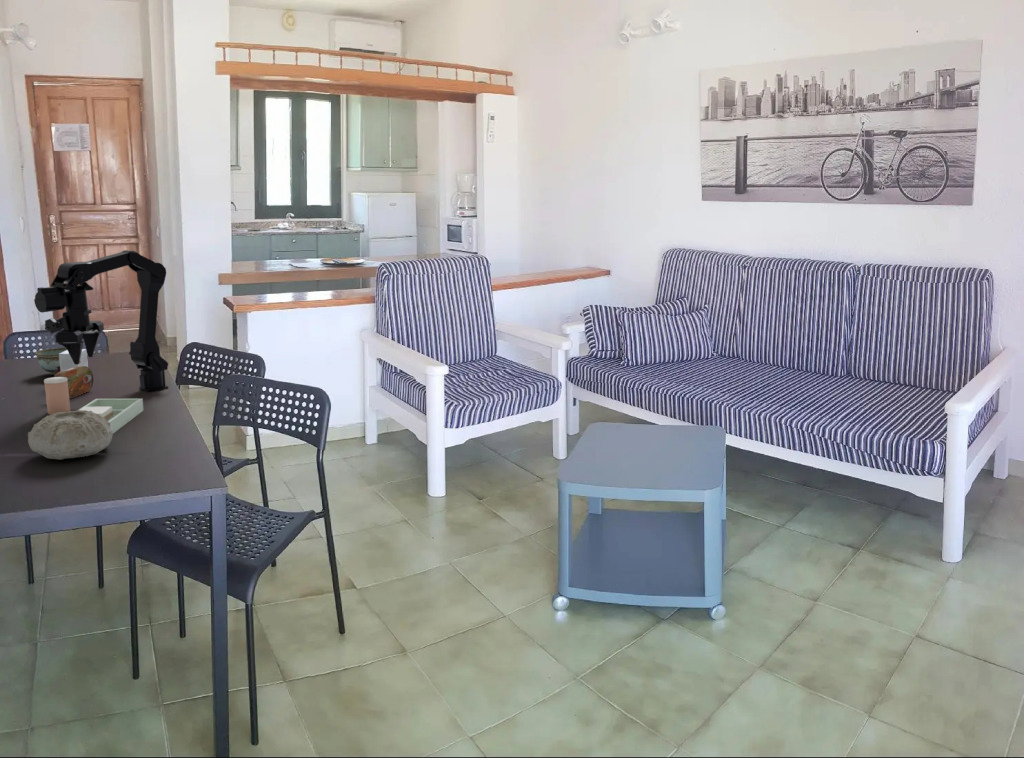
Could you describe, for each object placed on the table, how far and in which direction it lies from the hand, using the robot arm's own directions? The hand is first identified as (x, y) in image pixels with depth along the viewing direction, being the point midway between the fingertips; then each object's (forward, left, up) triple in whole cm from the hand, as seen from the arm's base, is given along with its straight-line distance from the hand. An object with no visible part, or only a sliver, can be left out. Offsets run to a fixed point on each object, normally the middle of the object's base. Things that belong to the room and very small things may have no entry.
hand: (83, 360), depth 243 cm
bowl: (-13, -43, -13) cm, 47 cm away
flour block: (+13, +29, -12) cm, 34 cm away
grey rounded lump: (+26, +44, -13) cm, 53 cm away
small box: (-10, -27, -13) cm, 31 cm away
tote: (+9, +25, -13) cm, 29 cm away
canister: (+11, +6, -13) cm, 18 cm away
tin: (-2, -12, -13) cm, 18 cm away
